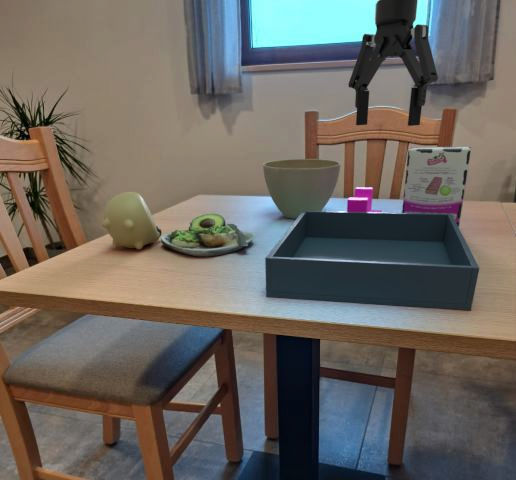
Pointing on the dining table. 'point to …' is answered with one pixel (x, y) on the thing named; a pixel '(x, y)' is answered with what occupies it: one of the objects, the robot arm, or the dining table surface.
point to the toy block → (361, 201)
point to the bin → (374, 260)
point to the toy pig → (130, 221)
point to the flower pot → (301, 184)
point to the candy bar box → (436, 180)
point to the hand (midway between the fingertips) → (386, 125)
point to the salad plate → (207, 237)
